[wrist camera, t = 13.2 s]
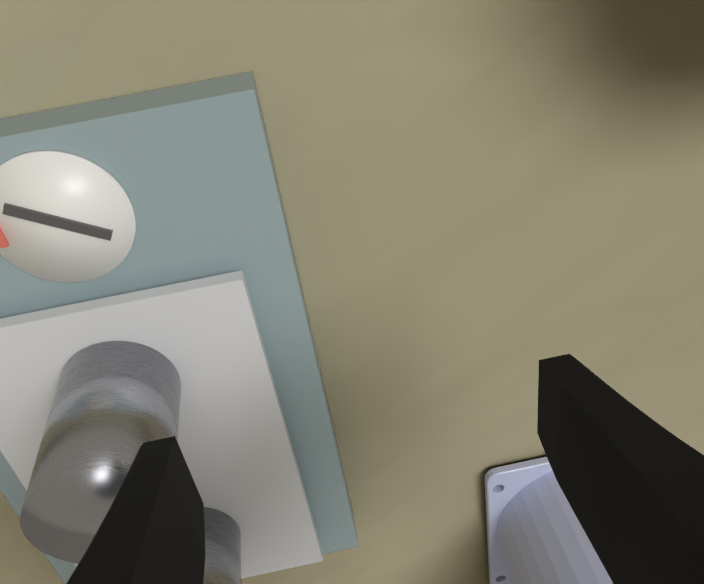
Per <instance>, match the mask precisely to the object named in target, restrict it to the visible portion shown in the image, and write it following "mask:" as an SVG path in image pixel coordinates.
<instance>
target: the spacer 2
mask: <svg viewBox="0 0 704 584" xmlns="http://www.w3.org/2000/svg"><path fill="white" fill-rule="evenodd" d="M204 524H205V568H204V580H203V584H242V583H241V533H240V528H239V526H238V524H237V523H236V521H235V520H234V519H233V518H232V517H230V516H229V515H227V514H226V513H224V512H222V511H219V510H216V509H213V508H209V507H204Z"/></svg>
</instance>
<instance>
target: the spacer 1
mask: <svg viewBox="0 0 704 584" xmlns="http://www.w3.org/2000/svg"><path fill="white" fill-rule="evenodd" d="M180 397H181V380H180V376H179V374H178V371H177V369H176V368H175V366H174V365H173V364H172V362H171V361H170V360H169V359H168V358H167V357H165V356H164V355H163V354H161V353H160V352H158V351H157V350H155V349H153V348H151V347H148V346H146V345H143V344H139V343H135V342H129V341H107V342H101V343H97V344H94V345H91V346H88V347H86V348H84V349H82V350H80V351H79V352H77V353H76V354H74V355H73V356H72V357H71V358H70V359H69V360H68V361H67V362H66V364H65V365H64V367H63V369H62V371H61V374H60V377H59V381H58V384H57V388H56V391H55V395H54V398H53V402H52V405H51V409H50V412H49V416H48V419H47V423H46V426H45V430H44V433H43V437H42V440H41V444H40V447H39V451H38V454H37V457H36V461H35V464H34V468H33V471H32V475H31V478H30V482H29V485H28V489H27V492H26V496H25V499H24V503H23V506H22V510H21V515H20V524H21V528H22V531H23V533H24V534H25V536H26V538H27V539H28V540H29V541H30V542H31V543H32V544H33V545H34V546H35V547H36V548H38V549H39V550H40V551H42V552H44V553H46V554H47V555H50V556H52V557H54V558H57V559H60V560H63V561H67V562H71V563H77V564H79V562H80V560H81V559H82V557H83V555H84V554H85V552H86V550H87V549H88V547H89V545H90V543H91V542H92V540H93V538H94V536H95V534H96V532H97V531H98V529H99V527H100V525H101V523H102V521H103V520H104V518H105V516H106V514H107V512H108V510H109V509H110V507H111V505H112V503H113V501H114V499H115V497H116V495H117V493H118V491H119V489H120V487H121V485H122V483H123V481H124V479H125V477H126V475H127V473H128V471H129V469H130V467H131V465H132V463H133V461H134V458H135V456H136V454H137V452H138V450H139V448H140V447H141V445H142V444H143V443H144V442H149V441H154V440H159V439H163V438H168V437H173V436H175V438H176V440H177V442H178V428H179V413H180Z"/></svg>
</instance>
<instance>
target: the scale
mask: <svg viewBox="0 0 704 584" xmlns="http://www.w3.org/2000/svg"><path fill="white" fill-rule="evenodd" d="M107 341H129V342H135V343H139V344H143V345H146V346H148V347H151V348H153V349H155V350H157V351H158V352H160V353H161V354H163V355H164V356H165V357H167V358H168V359H169V360H170V361H171V362H172V364H173V365H174V366H175V368H176V369H177V371H178V374H179V376H180V380H181V397H180V413H179V428H178V445H179V447H180V449H181V452H182V454H183V456H184V459H185V461H186V463H187V466H188V468H189V470H190V473H191V475H192V478H193V480H194V482H195V485H196V487H197V489H198V492H199V494H200V496H201V499H202V501H203V503H204V507H209V508H213V509H216V510H219V511H222V512H224V513H226V514H227V515H229V516H230V517H232V518H233V519H234V520H235V521H236V523H237V524H238V526H239V528H240V533H241V579H243V578H247V577H252V576H256V575H261V574H266V573H270V572H275V571H280V570H284V569H289V568H293V567H298V566H303V565H307V564H312V563H316V562H321V561H323V556H322V554H327V553H331V552H336V551H341V550H345V549H350V548H354V547H359V545H358V539H357V533H356V528H355V522H354V516H353V512H352V507H351V503H350V498H349V494H348V490H347V485H346V481H345V476H344V472H343V468H342V463H341V459H340V454H339V450H338V446H337V441H336V437H335V432H334V428H333V424H332V419H331V415H330V410H329V406H328V401H327V397H326V393H325V388H324V384H323V379H322V375H321V371H320V366H319V362H318V357H317V353H316V349H315V344H314V340H313V335H312V331H311V327H310V322H309V318H308V313H307V309H306V304H305V300H304V296H303V291H302V287H301V282H300V278H299V274H298V269H297V265H296V260H295V256H294V252H293V247H292V243H291V238H290V234H289V230H288V225H287V221H286V216H285V212H284V207H283V203H282V199H281V194H280V190H279V185H278V181H277V177H276V172H275V168H274V163H273V159H272V155H271V150H270V146H269V141H268V137H267V133H266V128H265V124H264V119H263V115H262V110H261V106H260V102H259V97H258V93H257V88H256V84H255V80H254V75H253V71H252V72H247V73H242V74H236V75H231V76H226V77H220V78H215V79H210V80H205V81H199V82H194V83H189V84H183V85H178V86H173V87H167V88H162V89H157V90H152V91H146V92H141V93H136V94H130V95H125V96H120V97H114V98H109V99H104V100H99V101H93V102H88V103H83V104H77V105H72V106H67V107H61V108H56V109H51V110H46V111H40V112H35V113H30V114H24V115H19V116H14V117H8V118H3V119H0V491H1V492H2V494H3V495H4V496H5V498H6V499H7V501H8V502H9V504H10V505H11V507H12V508H13V510H14V511H15V512H16V514H17V515H18V517H19V518H20V515H21V510H22V506H23V503H24V499H25V496H26V492H27V489H28V485H29V482H30V478H31V475H32V471H33V468H34V464H35V461H36V457H37V454H38V451H39V447H40V444H41V440H42V437H43V433H44V430H45V426H46V423H47V419H48V416H49V412H50V409H51V405H52V402H53V398H54V395H55V391H56V388H57V384H58V381H59V377H60V374H61V371H62V369H63V367H64V365H65V364H66V362H67V361H68V360H69V359H70V358H71V357H72V356H73V355H74V354H76V353H77V352H79V351H80V350H82V349H84V348H86V347H88V346H91V345H94V344H97V343H101V342H107ZM43 553H44V552H43ZM44 555H45V556H46V558H47V559H48V561H49V562H50V563H51V565H52V566H53V568H54V569H55V571H56V572H57V574H58V575H59V577H60V578H61V579H62V581H63V582H64V584H66V583H67V582H68V580H69V578H70V577H71V575H72V573H73V572H74V570H75V569H76V567H77V565H78V564H77V563H71V562H67V561H63V560H60V559H57V558H54V557H52V556H50V555H47V554H46V553H44Z"/></svg>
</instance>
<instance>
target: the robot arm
mask: <svg viewBox="0 0 704 584" xmlns="http://www.w3.org/2000/svg"><path fill="white" fill-rule="evenodd" d="M537 433H538V435H539V438H540V441H541V443H542V446H543V448H544V451H545V453H546V456H547V457H542V458H538V459H533V460H528V461H524V462H519V463H514V464H510V465H505V466H500V467H496V468H493V469H490V470H489V471H488V472H487V473H486V474H485V497H486V519H487V542H488V564H489V584H704V455H702V454H701V453H699V452H698V451H696V450H695V449H693V448H692V447H690V446H689V445H688V444H686V443H685V442H683V441H682V440H680V439H679V438H677V437H676V436H674V435H673V434H672V433H670V432H669V431H667V430H666V429H665V428H663V427H662V426H661V425H659V424H658V423H657V422H655V421H654V420H652V419H651V418H650V417H648V416H647V415H646V414H644V413H643V412H642V411H640V410H639V409H638V408H636V407H635V406H634V405H633V404H631V403H630V402H629V401H627V400H626V399H625V398H624V397H622V396H621V395H620V394H619V393H617V392H616V391H615V390H614V389H612V388H611V387H610V386H609V385H607V384H606V383H605V382H604V381H602V380H601V379H600V378H599V377H598V376H596V375H595V374H594V373H593V372H591V371H590V370H589V369H588V368H587V367H585V366H584V365H583V364H582V363H581V362H579V361H578V360H577V359H576V358H574V357H573V356H572V355H570V354H567V355H562V356H557V357H552V358H547V359H543V360H539V387H538V431H537ZM204 568H205V524H204V503H203V501H202V499H201V496H200V494H199V492H198V489H197V487H196V485H195V482H194V480H193V478H192V475H191V473H190V470H189V468H188V466H187V463H186V461H185V459H184V456H183V454H182V452H181V449H180V447H179V445H178V442H177V440H176V438H175V436H173V437H168V438H163V439H159V440H154V441H149V442H144V443H143V444H142V445H141V447H140V448H139V450H138V452H137V454H136V456H135V458H134V461H133V463H132V465H131V467H130V469H129V471H128V473H127V475H126V477H125V479H124V481H123V483H122V485H121V487H120V489H119V491H118V493H117V495H116V497H115V499H114V501H113V503H112V505H111V507H110V509H109V510H108V512H107V514H106V516H105V518H104V520H103V521H102V523H101V525H100V527H99V529H98V531H97V532H96V534H95V536H94V538H93V540H92V542H91V543H90V545H89V547H88V549H87V550H86V552H85V554H84V555H83V557H82V559H81V560H80V562H79V564H78V565H77V567H76V569H75V570H74V572H73V573H72V575H71V577H70V578H69V580H68V582H67V583H66V584H203V580H204Z"/></svg>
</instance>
